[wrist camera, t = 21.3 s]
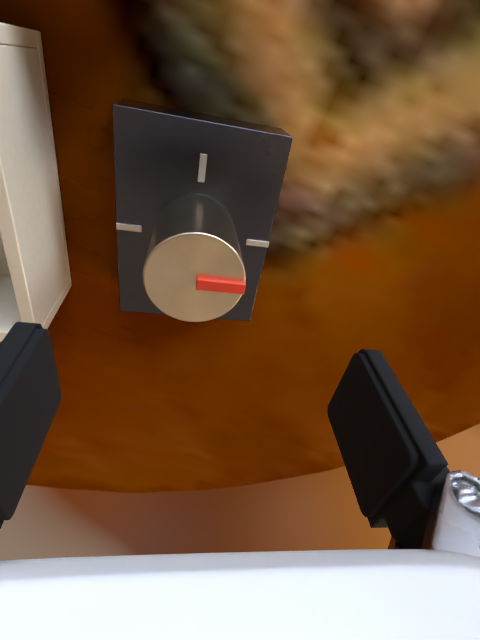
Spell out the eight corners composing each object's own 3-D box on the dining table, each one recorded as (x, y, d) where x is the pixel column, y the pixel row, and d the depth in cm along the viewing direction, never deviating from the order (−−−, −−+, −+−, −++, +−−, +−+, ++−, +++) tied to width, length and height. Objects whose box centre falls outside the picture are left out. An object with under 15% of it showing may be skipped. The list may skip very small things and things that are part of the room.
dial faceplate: (123, 99, 19) (111, 104, 16) (281, 128, 20) (293, 137, 18) (126, 288, 26) (119, 312, 23) (245, 298, 27) (250, 322, 25)
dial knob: (152, 266, 22) (140, 321, 17) (155, 187, 19) (142, 227, 14) (228, 275, 22) (237, 329, 18) (242, 201, 20) (256, 243, 15)
